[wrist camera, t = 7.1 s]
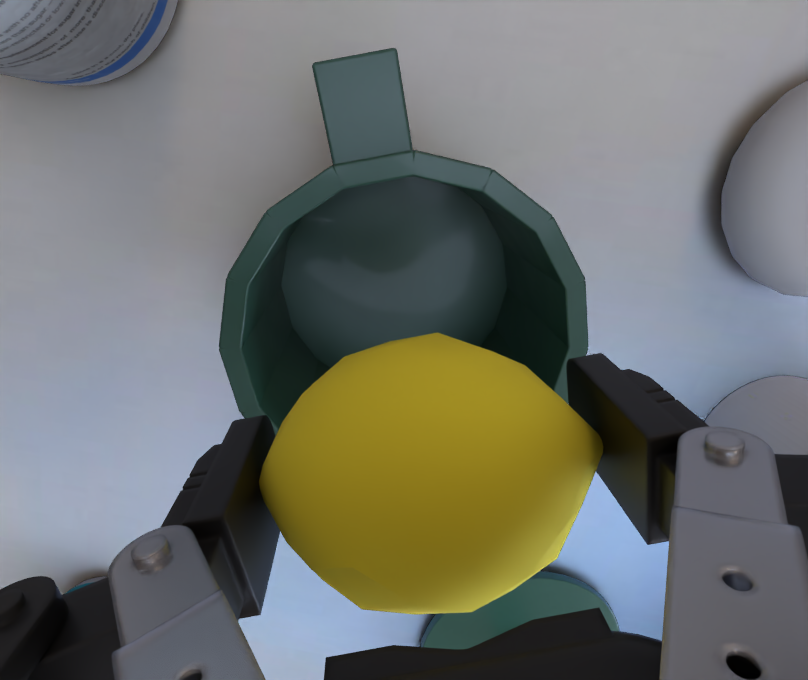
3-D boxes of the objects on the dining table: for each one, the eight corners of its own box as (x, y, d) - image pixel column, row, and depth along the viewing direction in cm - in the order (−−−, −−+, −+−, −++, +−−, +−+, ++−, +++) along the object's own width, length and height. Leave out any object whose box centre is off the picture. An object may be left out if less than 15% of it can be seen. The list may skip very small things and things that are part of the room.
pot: (316, 456, 27) (294, 581, 20) (220, 112, 21) (132, 91, 13) (531, 416, 27) (597, 524, 20) (497, 60, 21) (573, 8, 13)
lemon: (296, 504, 14) (254, 710, 9) (262, 315, 12) (182, 440, 7) (552, 478, 14) (654, 664, 9) (558, 288, 12) (693, 389, 7)
